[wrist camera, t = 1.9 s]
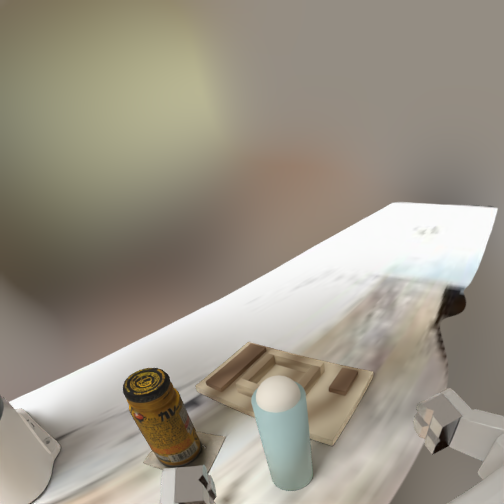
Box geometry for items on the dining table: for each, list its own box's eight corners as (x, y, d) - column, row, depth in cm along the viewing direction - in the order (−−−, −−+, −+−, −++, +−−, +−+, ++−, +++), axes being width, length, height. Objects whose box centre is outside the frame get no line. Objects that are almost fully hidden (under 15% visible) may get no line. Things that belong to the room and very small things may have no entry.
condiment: (169, 426, 37) (137, 358, 34) (225, 437, 34) (200, 366, 31) (143, 464, 31) (100, 397, 27) (203, 482, 28) (167, 415, 24)
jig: (197, 391, 44) (191, 376, 43) (249, 347, 53) (246, 333, 52) (332, 446, 30) (332, 431, 29) (372, 377, 40) (373, 361, 39)
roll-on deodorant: (263, 481, 27) (235, 389, 23) (286, 454, 30) (268, 358, 26) (298, 496, 25) (284, 407, 20) (320, 467, 28) (314, 371, 23)
